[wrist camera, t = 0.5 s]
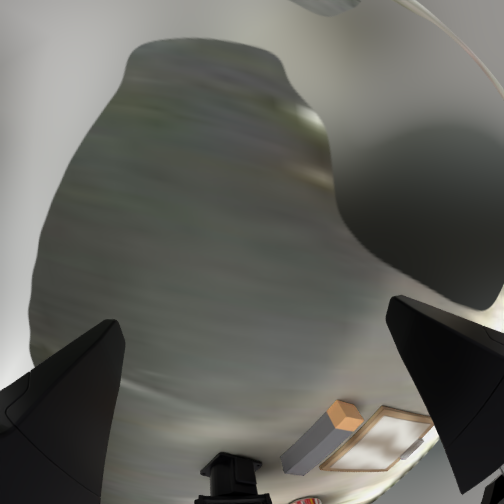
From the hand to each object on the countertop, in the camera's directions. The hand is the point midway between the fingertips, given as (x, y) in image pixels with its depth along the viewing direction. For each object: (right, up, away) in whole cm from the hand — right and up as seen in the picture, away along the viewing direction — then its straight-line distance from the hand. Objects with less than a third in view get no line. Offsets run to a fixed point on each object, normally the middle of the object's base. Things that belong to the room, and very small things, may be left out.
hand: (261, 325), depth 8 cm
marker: (+8, -21, +20) cm, 30 cm away
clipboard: (+21, -29, +23) cm, 43 cm away
